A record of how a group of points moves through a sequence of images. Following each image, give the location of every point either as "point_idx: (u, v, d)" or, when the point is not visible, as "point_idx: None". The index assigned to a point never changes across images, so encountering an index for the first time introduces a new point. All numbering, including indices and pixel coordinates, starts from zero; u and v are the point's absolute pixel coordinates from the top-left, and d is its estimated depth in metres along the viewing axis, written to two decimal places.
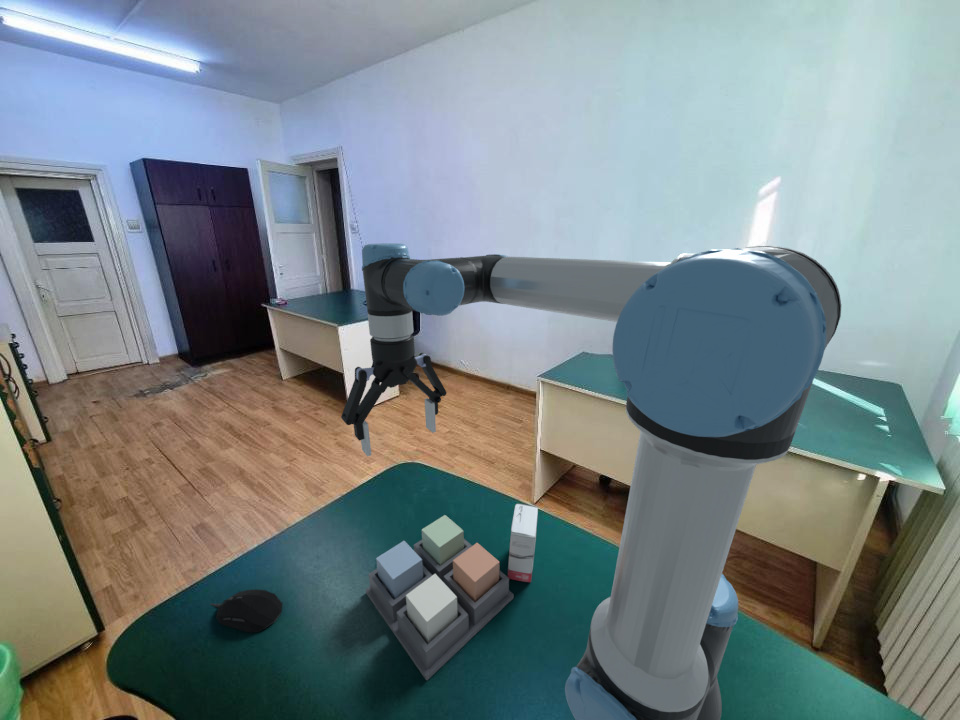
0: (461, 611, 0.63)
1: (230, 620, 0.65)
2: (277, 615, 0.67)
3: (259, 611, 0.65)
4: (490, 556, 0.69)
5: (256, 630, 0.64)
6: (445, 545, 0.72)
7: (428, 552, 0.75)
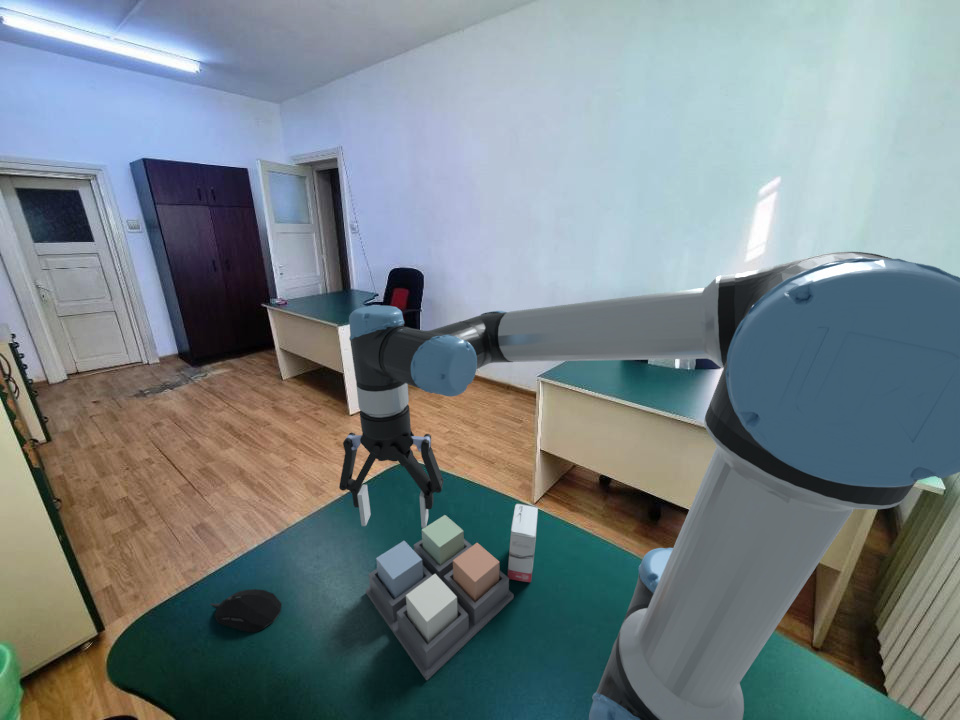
0: (461, 611, 0.63)
1: (229, 620, 0.65)
2: (276, 615, 0.67)
3: (258, 611, 0.65)
4: (490, 556, 0.69)
5: (255, 630, 0.65)
6: (445, 545, 0.72)
7: (428, 552, 0.75)
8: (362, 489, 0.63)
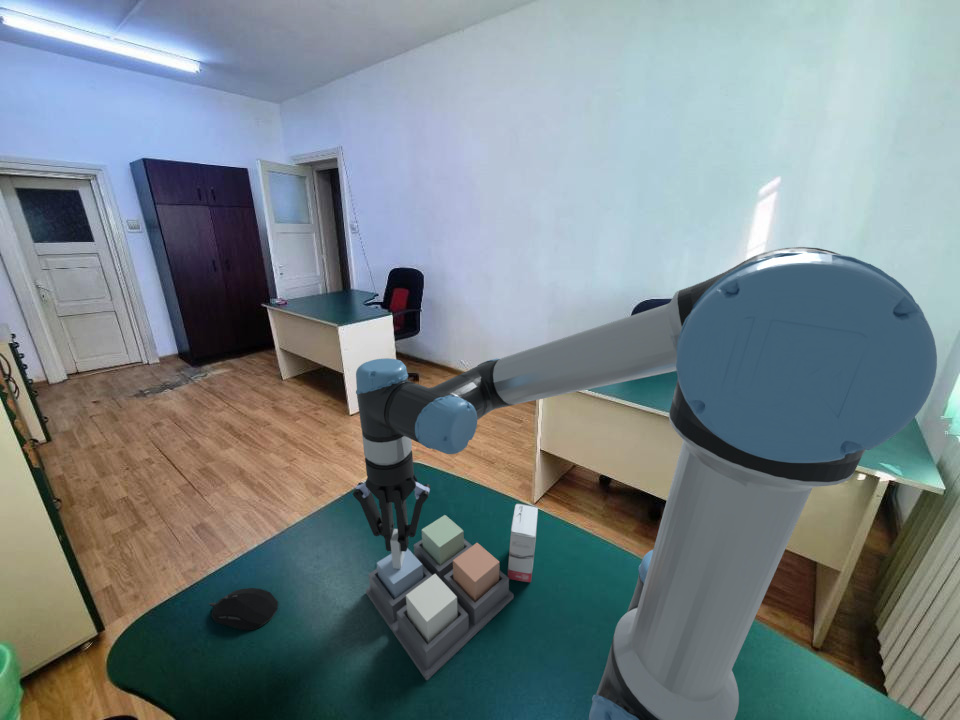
0: (461, 611, 0.63)
1: (226, 618, 0.65)
2: (273, 613, 0.67)
3: (255, 609, 0.66)
4: (490, 556, 0.69)
5: (252, 628, 0.65)
6: (445, 545, 0.72)
7: (428, 552, 0.75)
8: (394, 534, 0.66)
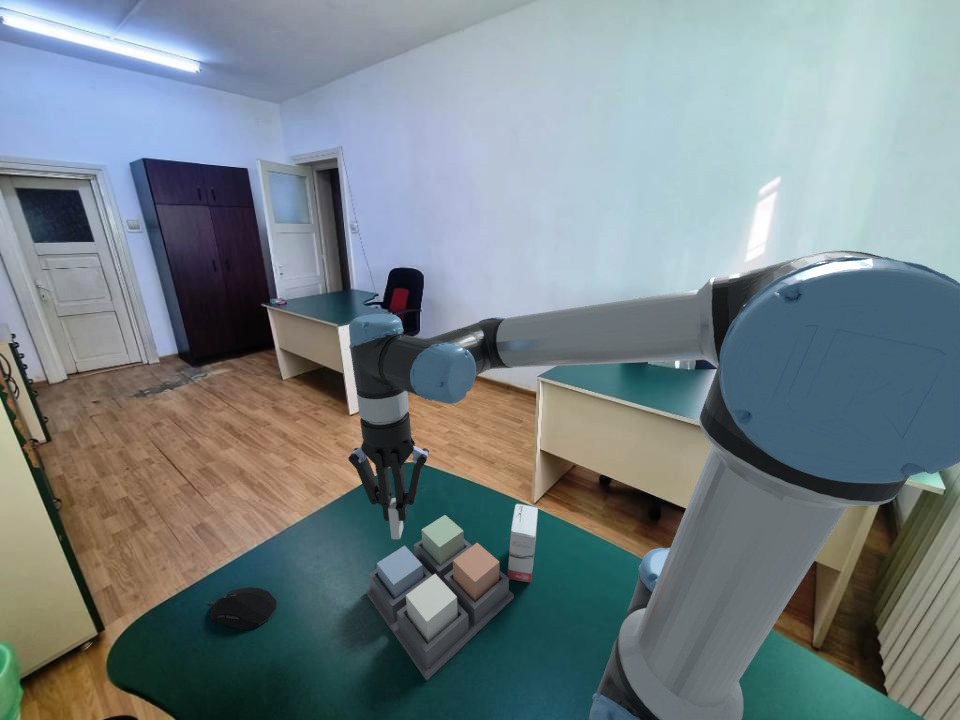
0: (461, 611, 0.63)
1: (224, 618, 0.65)
2: (271, 612, 0.67)
3: (253, 609, 0.66)
4: (490, 556, 0.69)
5: (250, 627, 0.65)
6: (445, 545, 0.72)
7: (428, 552, 0.75)
8: (392, 502, 0.64)
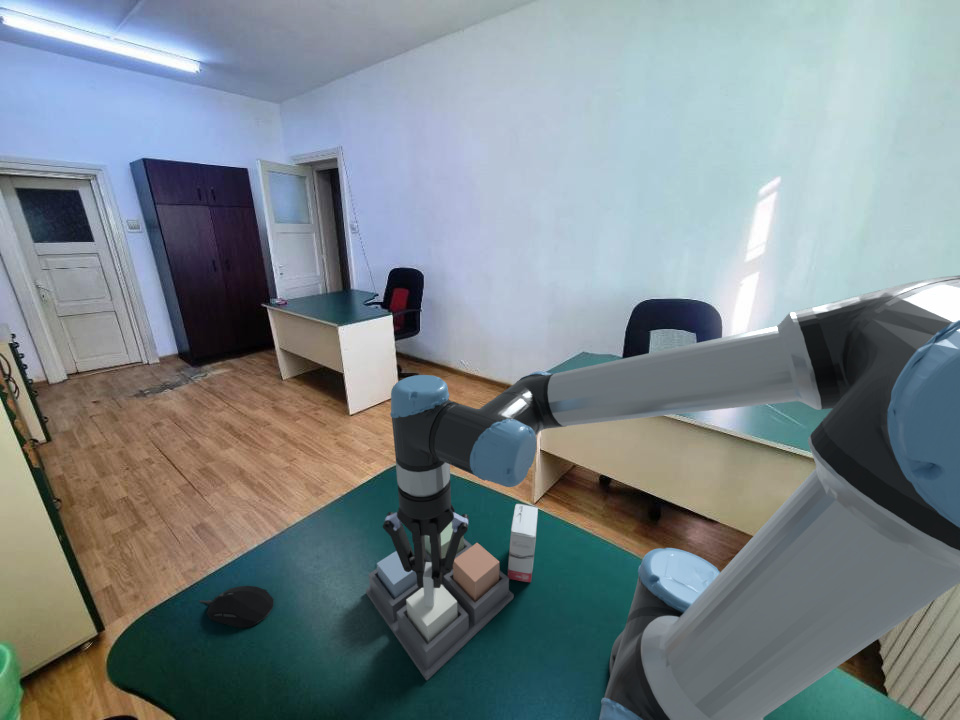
0: (461, 611, 0.63)
1: (221, 616, 0.66)
2: (268, 610, 0.67)
3: (251, 607, 0.66)
4: (490, 556, 0.69)
5: (247, 625, 0.65)
6: (445, 545, 0.72)
7: (428, 552, 0.75)
8: (426, 569, 0.59)
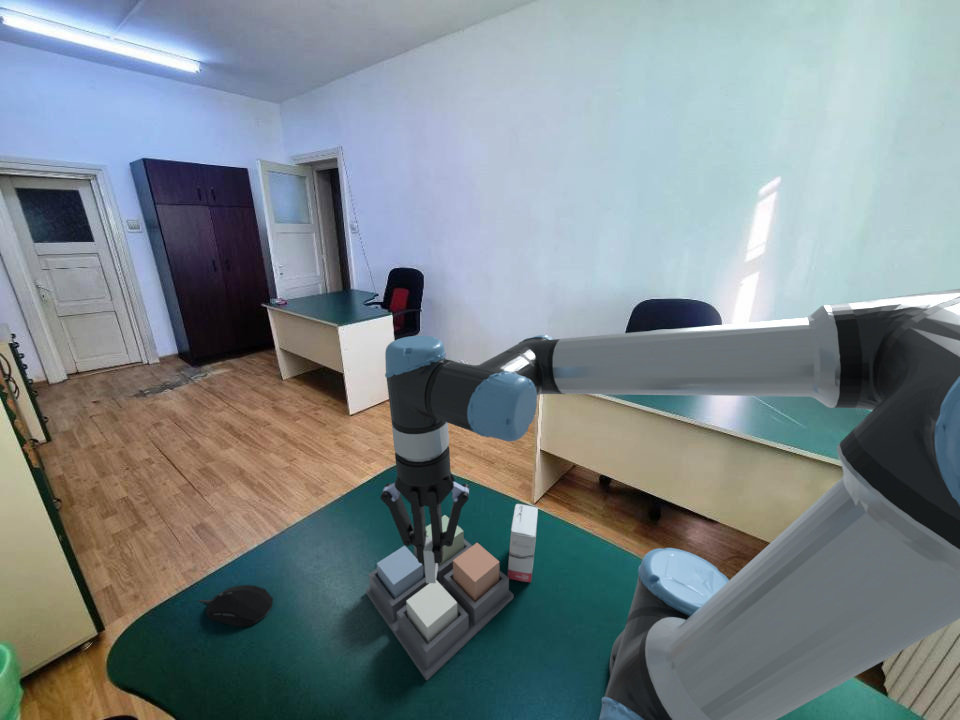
0: (461, 611, 0.63)
1: (220, 615, 0.66)
2: (267, 609, 0.68)
3: (250, 606, 0.66)
4: (490, 556, 0.69)
5: (247, 624, 0.65)
6: (445, 545, 0.72)
7: None
8: (427, 543, 0.57)
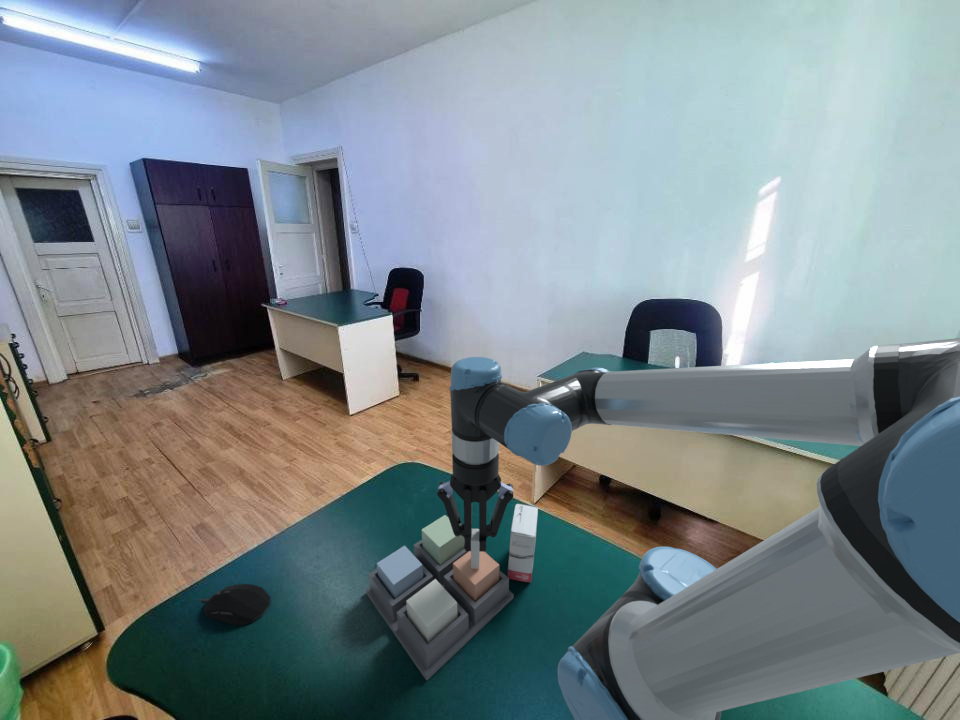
0: (461, 611, 0.63)
1: (218, 614, 0.66)
2: (265, 608, 0.68)
3: (247, 604, 0.67)
4: (490, 559, 0.69)
5: (244, 623, 0.66)
6: (445, 545, 0.72)
7: (428, 552, 0.75)
8: (473, 534, 0.66)
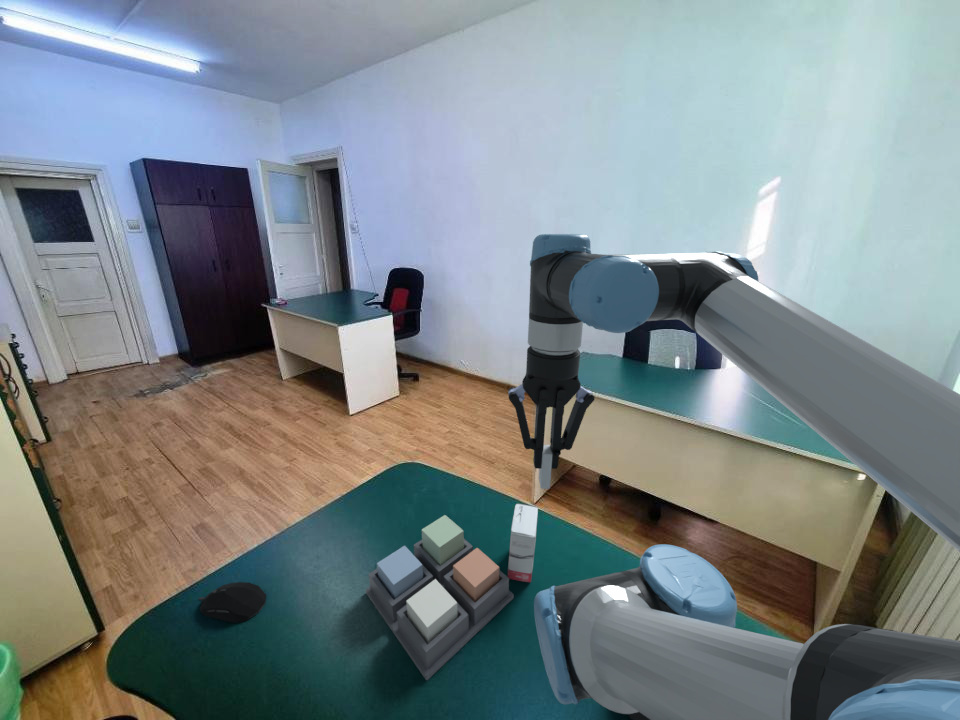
0: (461, 611, 0.63)
1: (214, 612, 0.66)
2: (261, 606, 0.68)
3: (243, 602, 0.67)
4: (490, 561, 0.69)
5: (240, 620, 0.66)
6: (445, 545, 0.72)
7: (428, 552, 0.75)
8: (544, 449, 0.59)
